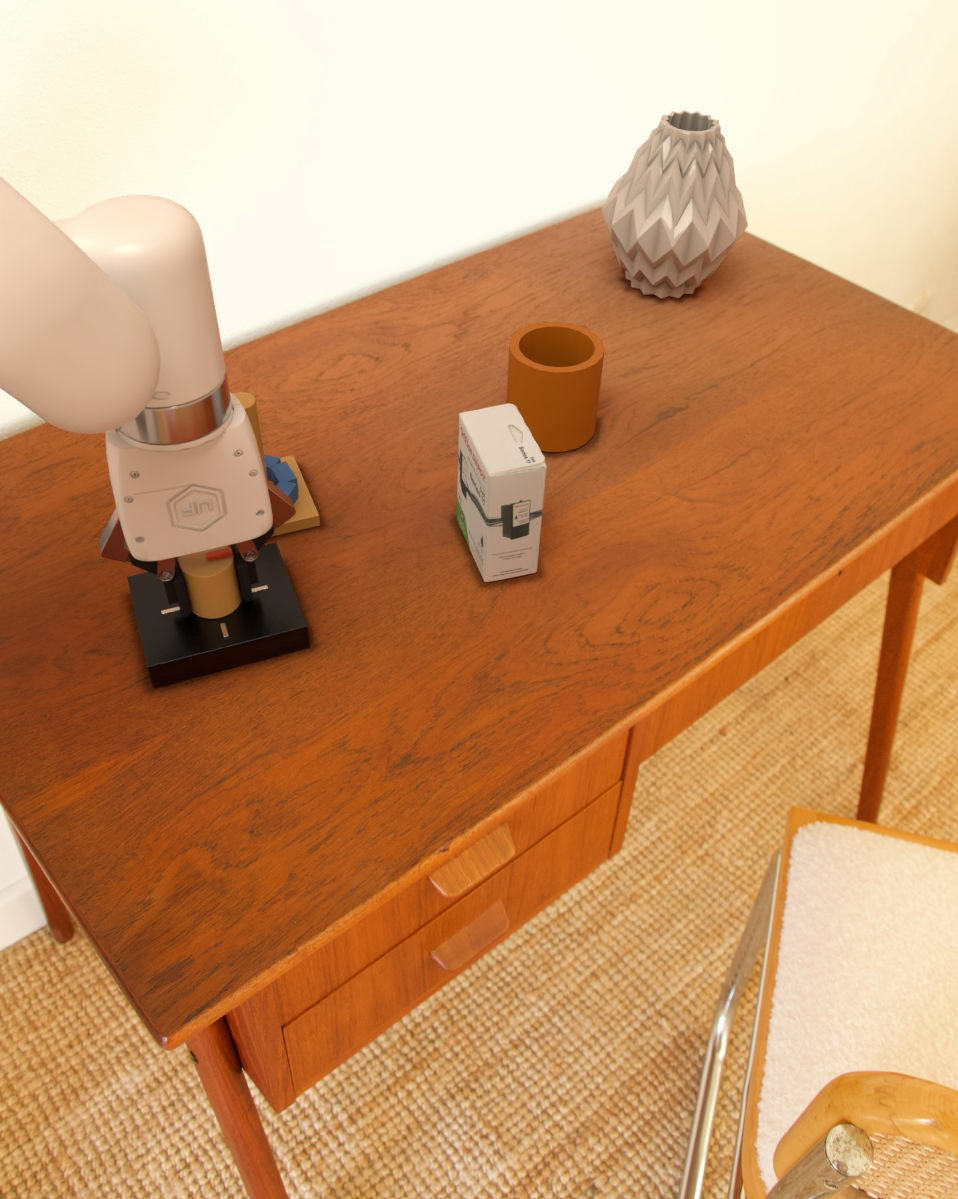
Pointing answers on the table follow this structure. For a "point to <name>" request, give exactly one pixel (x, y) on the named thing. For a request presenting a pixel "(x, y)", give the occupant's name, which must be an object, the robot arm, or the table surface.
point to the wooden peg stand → (304, 504)
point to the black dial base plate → (219, 626)
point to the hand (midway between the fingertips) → (214, 595)
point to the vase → (676, 207)
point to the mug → (556, 382)
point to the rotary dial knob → (211, 582)
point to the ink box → (500, 491)
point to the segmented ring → (282, 476)
